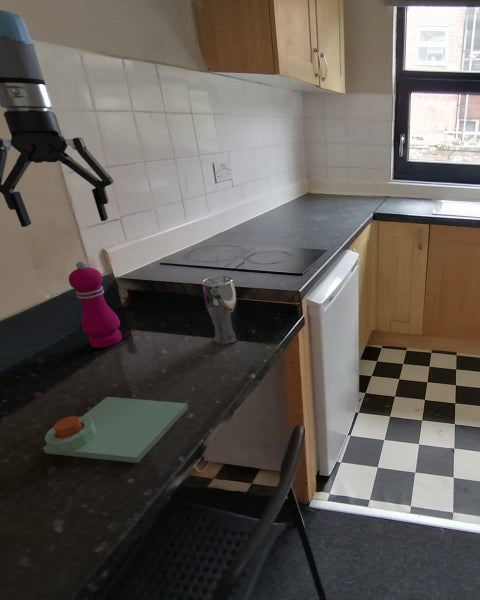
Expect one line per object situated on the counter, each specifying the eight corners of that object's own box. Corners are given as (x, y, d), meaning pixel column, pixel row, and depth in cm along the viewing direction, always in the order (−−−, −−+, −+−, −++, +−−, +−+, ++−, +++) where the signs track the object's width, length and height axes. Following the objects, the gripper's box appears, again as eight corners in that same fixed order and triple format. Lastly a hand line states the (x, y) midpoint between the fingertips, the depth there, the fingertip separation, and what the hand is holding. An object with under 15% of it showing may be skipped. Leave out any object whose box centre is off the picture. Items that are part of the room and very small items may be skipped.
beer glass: (249, 335, 98) (240, 278, 92) (225, 348, 93) (213, 288, 87) (230, 329, 102) (220, 273, 96) (206, 340, 96) (193, 282, 90)
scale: (41, 456, 63) (34, 441, 62) (108, 401, 75) (104, 388, 74) (135, 466, 61) (130, 451, 60) (188, 408, 74) (185, 395, 72)
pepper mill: (108, 350, 92) (79, 268, 84) (80, 347, 93) (50, 266, 85) (131, 335, 99) (107, 257, 91) (106, 332, 100) (80, 255, 92)
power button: (52, 437, 63) (48, 428, 62) (69, 423, 66) (66, 415, 65) (70, 439, 63) (66, 430, 62) (87, 425, 66) (84, 416, 65)
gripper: (-72, 108, 68) (-19, 232, 77) (102, 110, 77) (132, 221, 86) (-48, 109, 74) (-1, 223, 83) (110, 111, 83) (137, 214, 92)
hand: (66, 222), depth 84 cm, fingers open, 13 cm apart
